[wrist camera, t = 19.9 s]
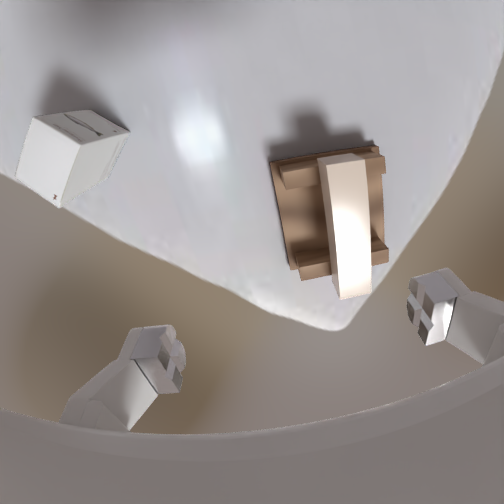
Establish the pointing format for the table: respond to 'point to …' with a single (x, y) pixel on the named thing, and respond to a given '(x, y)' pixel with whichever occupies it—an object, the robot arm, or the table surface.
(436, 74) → the table surface
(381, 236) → the ridged wooden base
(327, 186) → the beige rectangular bar
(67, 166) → the supplement box
